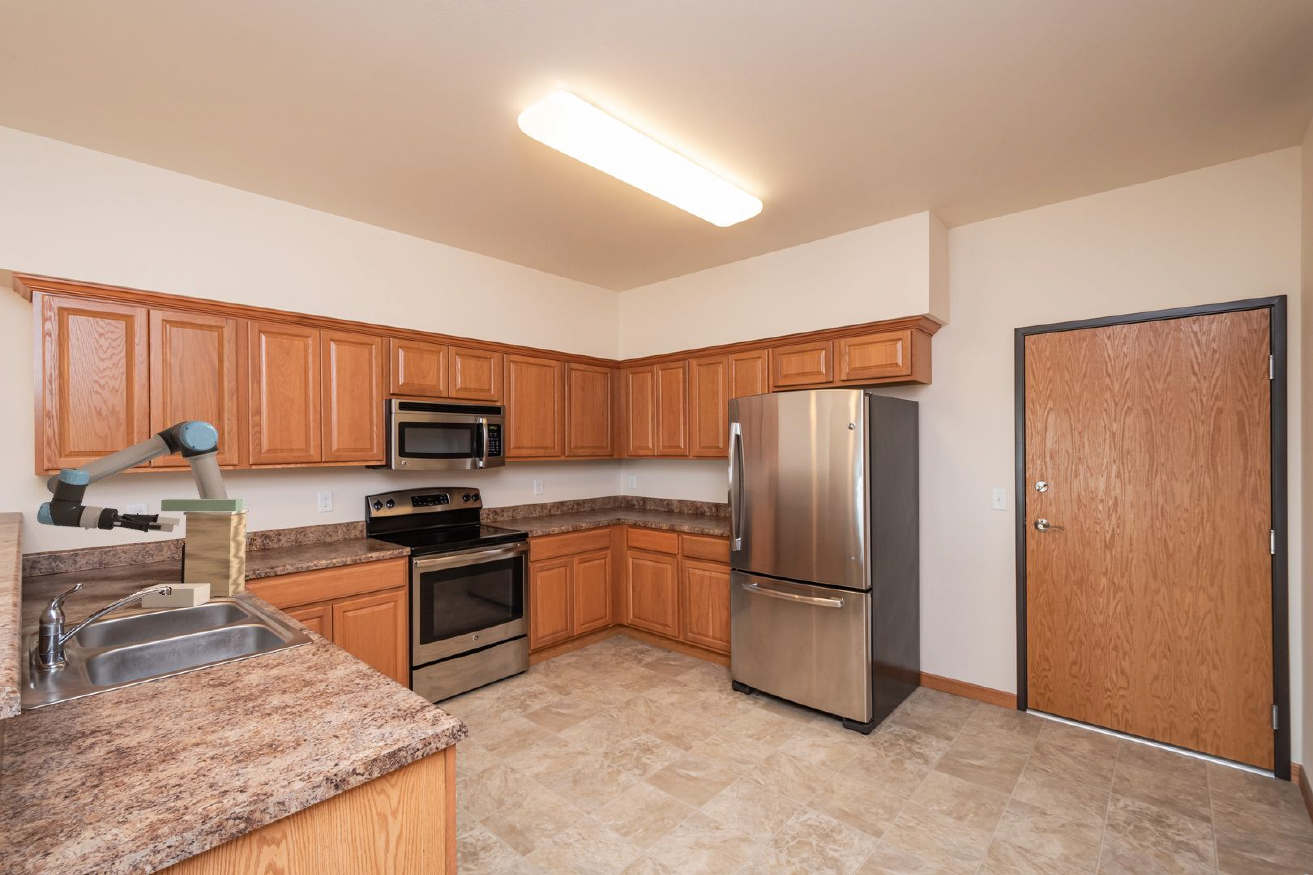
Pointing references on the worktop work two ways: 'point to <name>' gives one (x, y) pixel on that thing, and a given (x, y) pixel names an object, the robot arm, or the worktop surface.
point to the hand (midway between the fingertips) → (176, 525)
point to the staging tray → (178, 596)
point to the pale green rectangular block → (201, 504)
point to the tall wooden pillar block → (216, 550)
